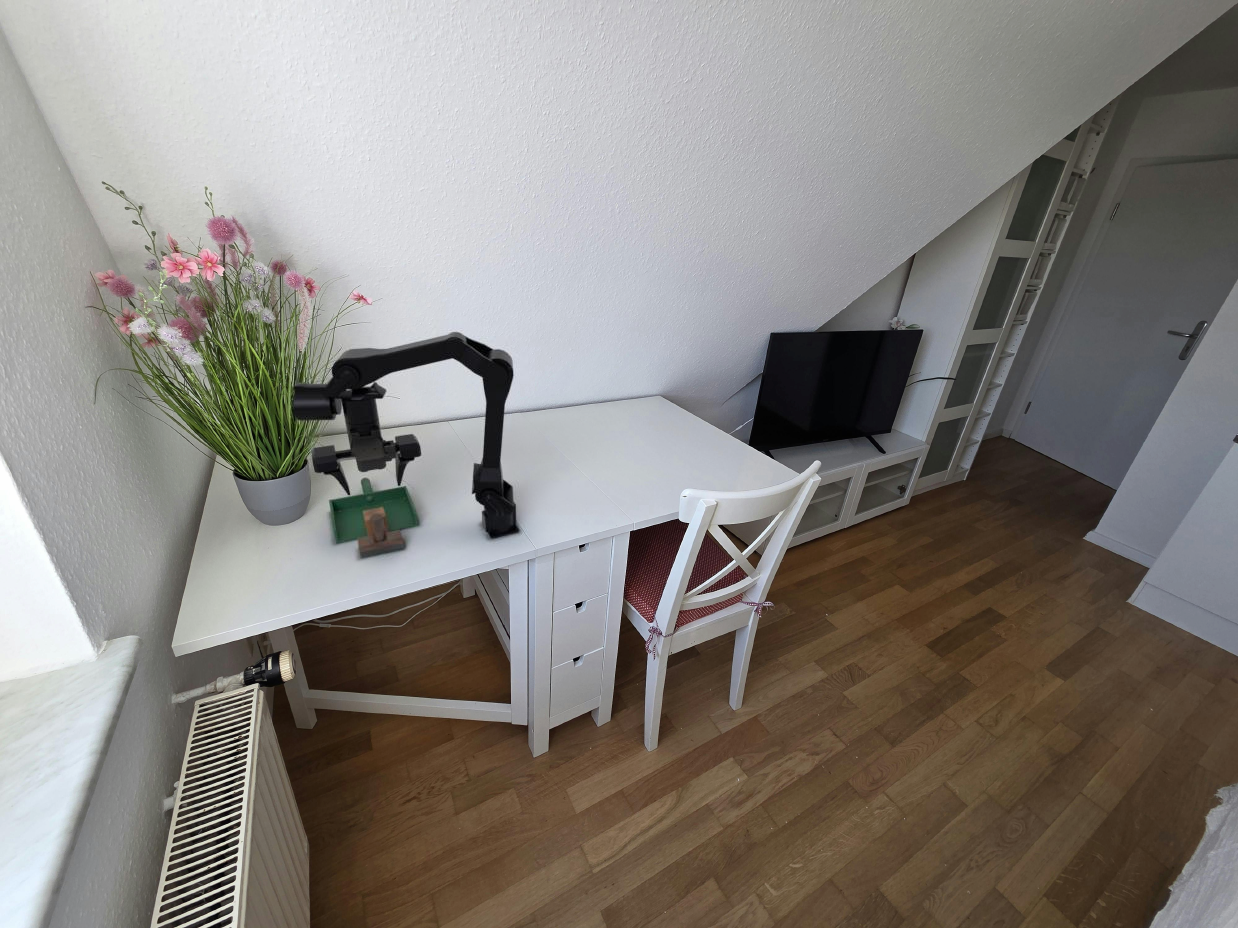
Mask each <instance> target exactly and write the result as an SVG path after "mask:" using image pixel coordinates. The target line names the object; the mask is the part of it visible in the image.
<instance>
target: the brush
mask: <svg viewBox="0 0 1238 928" xmlns="http://www.w3.org/2000/svg"><path fill="white" fill-rule="evenodd" d="M370 523H371V528H372V533H373V535H371V536H365V537H360V538H358V539H357V544H358V545H357V546H358V551H359V556H360V559H364V558H365V559H366V558H369V557H374V556H380V555H383V554H390V553H394V552H398V551H402V550H405V547H404V539H403V534H402V529H400V530H396V531H391V532H386V530H385V524H384V519H383V515H381V514H374V515H372V516H371V517H370Z"/></svg>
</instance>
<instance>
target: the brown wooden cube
mask: <svg viewBox="0 0 1238 928" xmlns="http://www.w3.org/2000/svg"><path fill="white" fill-rule="evenodd" d="M374 514H381V515H383V519H384V524H385V530H386V532H388V526H387V520H386V515H385V512H384V509H383V507H380V508H375V509H370V510H365V511H363V516H364V521H365V526H366V530H367V535H368V536H371V535H373V533H372V528H371V523H370V517H371V516H372V515H374Z"/></svg>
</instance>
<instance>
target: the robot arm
mask: <svg viewBox="0 0 1238 928" xmlns="http://www.w3.org/2000/svg"><path fill="white" fill-rule="evenodd" d="M452 359H453V360H455V361H456V362H459V363H460V364H461V365H462V366H464V367H465V368H467V369H468V370H469V371H471V372H472V373H473V374H475V375H476V376H479V377H480V378H482V386H483V391H484V398H485V414H484V431H483V448H482V458H481V461H480V463H477V462H473V470H472V485H471V495H474V499H475V501H476V502H477V503H478V504H480V506H483V510H481V524H482V525H481V526H482V528H483V530H484V531H485V533H487V535H488V537H489V538H490V539H497V538H501V537H505V536H508V535H513V534H516V533H519V532H520V528H519V527H518V525H517V504H516V503H515V501H514V486H513V485H512V484H510V483H509V482H508V481H506V480H505V479H504V476H503V468H502V462H501V460H502V458H501V457H502V446H503V445H502V444H503V434H504V424H505V423H504V421H505V410H506V409H505V408H506V402H507V399H508V398H509V397H508V396H509V394H510V391H511V388H512V383H513V380H514V375H515V374H514V363H513V361H514V360H513V358H512V356H511V355H510V354H509V353H508V352H507V351H505V350H504V349H500V348H496V349H495V348H492V347H490V346H489V345H487V344H486V343H483V342H480V341H477V340H475V339H472V338H470V337H468V336H466V335H464V334H463V333H461V332H459V331H452V332H450V333H448V334H445V335H440V336H436V337H432V338H426V339H423V340H419V341H414V342H410V343H406V344H402V345H396V346H393V347H388V348H373V347H363V348H349V349H348V350H345V351H344V352H343V353H341V355H340V356H339V357H338V358H337V359H336V360H335V361H334V362H333V365H332V367H331V375H332V377H331V378H330V379H329V380H328V382H327V383H310V382H297V383H296V384H295V385H294V386H293V391H294V393H293V398H292V399H293V401H292V403H293V406H292V412H293V414H294V417H295V419H296V420H297V421H300V422H302V421H303V422H304V421H335V419H336V417H337V415H341V413H342V410H343V417H344V422H345V428H346V433H347V438H348V443H349V448H350V449H349V448H348V449H343V450H342V449H341V450H336V448H335V447H336V446H335V444H331V445H324V446H323V445H322V446H318V447H313V449H311V461H312V466H313V471H314V473H316V474H322V473H323V475H325V476H332V477H334V479H335V480H337V482H338V483H339V484H340V486H341V487H342V489H343V490H344V491H345V494H346V495H347V496H351V491H350V486H349V483H348V480H347V476H346V474H345V472H344V469H343V467H342V463H341V462H343V461H351V460H355V462H356V467H357V471H359V472H360V473H367V472H370V471H376V470H384V469H386V468H387V462H392V461H393V459H394V461H395V462H394V463H395V479H396V484H397V487H401V484H402V481H403V477H404V474H405V470H406V468H407V466H408V464H409V463H410V462H414V461H415V459H416V458H419V457H421V456H422V449H421V443H420V442H419V440H418V437H417V436H416V435H415V434H413V433H409V434H402V435H401V434H400V435H395V436H394V440H393V439H391V440H386V439H384V438H383V436H382V435H383V434H382V430H381V423H380V417H379V411H378V404H377V400H383V399H384V397H385V395H386V393H387V389H386V388H384V387H383V386H382V385H379V384H378V382H377V381H378V380H380V379H382V378H385V377H386V376H388V375H390V374H394V373H397V372H401V371H405V370H409V369H414V368H418V367H423V366H427V365H430V364H434V363H440V362H444V361H448V360H452ZM369 385H370V386H369Z"/></svg>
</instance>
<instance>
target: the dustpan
mask: <svg viewBox="0 0 1238 928" xmlns="http://www.w3.org/2000/svg"><path fill="white" fill-rule="evenodd" d="M360 485H361V489H362V492H363V493H359V494H354V495H347V496H343V497H339V498H334V499H329V500H328V502H329V508H330V517H331V524H332V530H333V536H334V539H335V544H341V543H345V542H351V541H356V540H358V538H360V537H365V536H368V535H367V530H366V526H365V521H364V516H363V511H365V510H370V509H375V508H380V507H383V509H384V512H385V515H386V520H387V526H388V532H391V531H396V530H404V529H408V528H414V527H418V526H419V522H418V513H417V511H416V508H415V505H414V503H413V500H412V497H411V495H410V491H409V490H408V487H407V486H406V485H404V486H397V487H391V488H387V489H382V490H375V491H374V490H373V487H372V483H371V480H370V479H369V478H368V477H363V478H362V479H361V480H360Z"/></svg>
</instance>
